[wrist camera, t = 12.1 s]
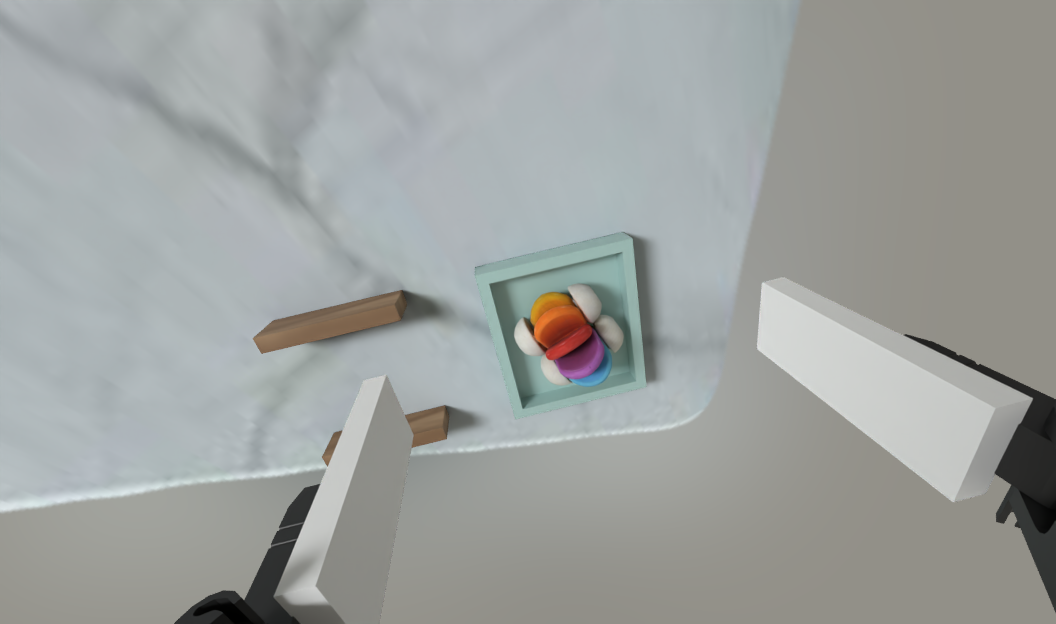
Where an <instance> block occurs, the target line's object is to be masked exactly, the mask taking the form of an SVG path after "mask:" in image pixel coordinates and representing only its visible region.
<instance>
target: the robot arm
mask: <svg viewBox="0 0 1056 624" xmlns="http://www.w3.org/2000/svg"><path fill="white" fill-rule="evenodd" d="M757 349H758V350H759V351H760V352H761V353H763V354H764V355H765V356H767V357H768V358H769V359H771V360H772V361H773V362H774V363H776V364H777V365H778V366H779V367H781V368H782V369H783V370H785V371H786V372H787V373H788V374H790V375H791V376H792V377H794V378H795V379H796V380H797V381H799V382H800V383H801V384H802V385H804V386H805V387H807V388H808V389H809V390H810V391H811V392H813V393H814V394H815V395H816V396H818V397H819V398H820V399H822V400H823V401H824V402H825V403H827V404H828V405H829V406H831V407H832V408H833V409H834V410H836V411H837V412H838V413H840V414H841V415H842V416H843V417H845V418H846V419H847V420H849V421H850V422H851V423H852V424H854V425H855V426H856V427H857V428H859V429H860V430H861V431H863V432H864V433H865V434H866V435H868V436H869V437H870V438H872V439H873V440H874V441H875V442H877V443H878V444H879V445H881V446H882V447H883V448H884V449H886V450H887V451H889V453H891V454H892V455H893V456H895V457H896V458H897V459H899V460H900V461H901V462H902V463H904V464H905V465H906V466H907V467H909V468H910V469H911V470H913V471H914V472H915V473H916V474H918V475H919V476H921V477H922V478H923V479H924V480H925V481H927V482H928V483H929V484H931V485H932V486H933V487H934V488H936V489H937V490H938V491H940V492H941V493H942V494H943V495H945V496H946V497H947V498H948V499H950V500H951V501H952V502H957V501H960V500H964V499H967V498H972V497H975V496H979V495H983V494H985V493H986V492H987V490H988V488H989V486H990V484H991V482H992V480H993V478H994V476H995V474H996V475H998V476H999V477H1001V478H1002V479H1004V480H1005V481H1007V482H1008V483H1010V484H1011V487H1010V489H1009V491H1008V493H1007V494H1006V496H1005V498H1004V500H1003V502H1002V504H1001V506H1000V507H999V509H998V511H997V513H996V522H999V523H1005V521H1006V519H1007V517H1008V515H1009V514H1010V513H1011V512H1014V514H1015V516H1016V518H1017V522H1016V524H1015V527H1018V528H1021V530H1022V533H1023V535H1024V537H1025V540H1026V542H1027V545H1028V547H1029V550H1030V552H1031V554H1032V557H1033V559H1034V562H1035V564H1036V566H1037V569H1038V571H1039V574H1040V576H1041V578H1042V581H1043V583H1044V585H1045V588H1046V590H1047V593H1048V595H1049V598H1050V600H1051V602H1052V605H1053V607H1054V610H1055V612H1056V399H1054V398H1052V397H1050V396H1047V395H1045V394H1043V393H1041V392H1039V391H1037V390H1034V389H1032V388H1030V387H1028V386H1026V385H1024V384H1022V383H1020V382H1018V381H1015V380H1013V379H1011V378H1009V377H1007V376H1005V375H1003V374H1000V373H998V372H996V371H994V370H992V369H990V368H988V367H985V366H983V365H981V364H979V365H977V364H976V362H975V361H973V360H971V359H968V358H966V357H964V356H962V355H959V356H958V355H957V354H956V352H953V351H951V350H949V349H947V348H945V347H943V346H941V345H939V344H936V343H934V342H932V341H928V340H924V339H921V338H917V337H914V336H910V335H907V334H905V335H902V334H899V333H897V332H895V331H893V330H891V329H889V328H887V327H885V326H883V325H881V324H879V323H877V322H875V321H873V320H871V319H869V318H867V317H865V316H862V315H860V314H858V313H856V312H854V311H852V310H850V309H848V308H846V307H844V306H842V305H840V304H838V303H836V302H833V301H831V300H830V299H827V298H825V297H823V296H821V295H819V294H817V293H815V292H813V291H811V290H809V289H807V288H805V287H803V286H801V285H799V284H797V283H794V282H792V281H790V280H788V279H786V278H784V277H782V278H778V279H774V280H770V281H765V282H762V291H761V303H760V316H759V328H758V340H757ZM413 436H414V435H413V432H412V430H411V428H410V426H409V424H408V421H407V419H406V417H405V415H404V413H403V410H402V408H401V406H400V404H399V401H398V399H397V397H396V395H395V393H394V390H393V388H392V386H391V384H390V382H389V379H388V377H387V375H383V376H379V377H375V378H371V379H367V380H364V381H363V383H362V386H361V388H360V390H359V393H358V395H357V398H356V400H355V402H354V405H353V407H352V410H351V412H350V414H349V417H348V419H347V422H346V424H345V426H344V429H343V431H342V434H341V436H340V438H339V441H338V443H337V446H336V448H335V450H334V453H333V455H332V458H331V460H330V462H329V465H328V467H327V470H326V472H325V475H324V477H323V479H322V482H321V484H318V485H314V486H310V487H306V488H304V489H303V491H302V492H301V493H300V494H299V495H298V496H297V498H296V499H295V500H294V501H293V502H292V504H291V505H290V506H289V508H288V509H287V512H286V514H285V516H284V518H283V520H282V522H281V524H280V526H279V528H280V530H279V531H277V533H276V535H275V537H274V539H273V541H272V543H271V548H270V549H269V550H268V552H267V554H266V556H265V558H264V560H263V562H262V564H261V566H260V568H259V570H258V573H257V575H256V577H255V579H254V581H253V583H252V585H251V588H250V589H249V592H248V594H247V596H246V598H245V600H243V599H242V598H241V597H240V596H239V595H238V594H237V593H236V592H235V591H221V592H218V593H215V594H213V595H210V596H208V597H206V598H205V599H203V600H202V601H200V602H199V603H197V604H195V605H194V606H192V607H191V608H190V609H189V610H188V611H187V612H186V613H185V614H184V615H183V616H181V617H180V618H179V619H178V620H177V621H176V622H175V623H174V624H379V623H380V618H381V612H382V607H383V601H384V596H385V590H386V584H387V579H388V574H389V568H390V563H391V557H392V552H393V546H394V540H395V535H396V530H397V524H398V519H399V513H400V508H401V502H402V497H403V491H404V486H405V479H406V475H407V469H408V463H409V458H410V453H411V447H412V442H413Z"/></svg>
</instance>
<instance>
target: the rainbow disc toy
mask: <svg viewBox="0 0 1056 624" xmlns="http://www.w3.org/2000/svg"><path fill="white" fill-rule="evenodd" d="M568 290H569V292H570V294H571V295H572V297H573V299H571V298H570V297H569V296H568V295H566V294H563V293H559V292H548V293H545V294H542V295H541V296H540V297H538V299H537V300H536V301H535V302H534V304H533V306H532V309H531V315H530V316H531V318H530V321H531V322H530V321H529V320H528V319H527V318H525V317H523V318H521V319H520V320H519V322H518V323H517V325H516V327H515V331H514V337H515V340H516V343H517V344H518V346H519V348H520V349H521V350H522V351H523V352H524V353H525V354H527V355H530V356H542V355H543V356H542V358H541V369H542V372H543V374H544V375H545V377H546V378H547V379H548V380H549V381H550V382H551V383H553V384H555V385H561V386H563V385H568V384H571V383H572V382H573V383H575V384H577V385H580V386H584V387H592V386H596V385H599V384H601V383H603V382H604V381H605V380H606V379H607V377H608V376H609V374H610V371H611V368H612V355H611V352H610V351H609V349H611V350H612V351H613V352H614V353H615V352H617V351H618V350H619V349H620V347H621V345H622V343H623V338H624V335H623V332H622V330H621V329H620V327H619V326H618V325H617V323H616V322H615V320H614V319H613V318H612V317H611V316H608V315H600V313H601V308H602V304H601V301H600V300H599V298H598V297H597V295H596V294H595V293H594V291H593V290H592V288H591V287H590V286H589V285H586V284H582V283H578V284H573V285H570V286H568ZM587 323H591V324H593V326H592V325H589V324H587Z"/></svg>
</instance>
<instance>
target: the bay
mask: <svg viewBox="0 0 1056 624" xmlns="http://www.w3.org/2000/svg"><path fill="white" fill-rule="evenodd" d="M406 307H407V302H406V299H405V297H404V294H403V291H402V290H400V291H395V292H391V293H387V294H383V295H379V296H374V297H370V298H366V299H362V300H358V301H353V302H349V303H345V304H341V305H337V306H332V307H328V308H324V309H320V310H316V311H311V312H307V313H303V314H299V315H295V316H290V317H286V318H282V319H278V320H274V321H272V322H271V323H270V324H269V325H267V326H266V327H265V328H264V329H263V330H262V331H261V332H259V333H258V334H257V335H256V336H255V337H254V338H253V340H254V342H255V343H256V345H257V347H258V349H259V350H260V352H261V354H263V353H267V352H271V351H275V350H279V349H283V348H288V347H292V346H296V345H300V344H304V343H308V342H313V341H317V340H321V339H325V338H329V337H334V336H338V335H342V334H346V333H350V332H354V331H359V330H363V329H367V328H371V327H375V326H379V325H384V324H388V323H392V322H396V321H400V320H401V319H402V316H403V314H404V311H405V309H406ZM405 417H406V419H407V421H408V424H409V426H410V428H411V430H412V432H413V435H414V436H413V442H412V447H416V446H421V445H425V444H429V443H433V442H437V441H441V440H445V439H447V433H448V423H449V414H448V412H447V409H446V406H441V407H436V408H432V409H428V410H424V411H420V412H416V413H412V414H408V415H405ZM341 434H342V431H339V432H335V433H334V434H333V436H332V438H331V440H330V442H329V444H328V446H327V448H326V450H325V452H324V454H323V456H322V458H323V460H324V461H325V463H326V465H327V467H328V465H329V462H330V460H331V458H332V455H333V453H334V450H335V448H336V446H337V443H338V441H339V438H340V436H341ZM412 447H411V448H412Z"/></svg>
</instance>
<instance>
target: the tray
mask: <svg viewBox="0 0 1056 624" xmlns="http://www.w3.org/2000/svg"><path fill="white" fill-rule="evenodd" d="M475 278H476V282H477V285H478V289H479V292H480V296H481V300H482V303H483V307H484V310H485V314H486V317H487V321H488V324H489V328H490V331H491V335H492V338H493V342H494V346H495V349H496V353H497V356H498V360H499V363H500V367H501V370H502V374H503V377H504V381H505V384H506V388H507V392H508V395H509V399H510V402H511V406H512V409H513V413H514V416H515V419H519V418H523V417H527V416H531V415H535V414H539V413H543V412H547V411H551V410H555V409H559V408H563V407H567V406H571V405H575V404H580V403H584V402H588V401H592V400H596V399H600V398H604V397H608V396H612V395H616V394H620V393H624V392H628V391H632V390H636V389H640V388H644V387H646V376H645V365H644V355H643V344H642V333H641V323H640V312H639V302H638V291H637V280H636V270H635V259H634V249H633V238H631V237H630V236H628V235H627V234H625V233H623V232H621V233H617V234H612V235H608V236H604V237H600V238H596V239H591V240H587V241H583V242H579V243H574V244H570V245H566V246H562V247H558V248H553V249H549V250H545V251H541V252H537V253H532V254H528V255H524V256H520V257H516V258H511V259H507V260H503V261H499V262H495V263H490V264H486V265H482V266H478V267H475ZM578 283H582V284H586V285H589V286H590V287H591V288H592V290H593V291H594V293H595V294H596V295H597V297H598V298H599V300H600V301H601V304H602V308H601V313H600V315H608V316H611V317H612V318H613V319H614V320H615V322H616V323H617V325H618V326H619V327H620V329H621V330H622V332H623V335H624V338H623V343H622V345H621V347H620V349H619V350H618V351H617V352H615V353H614V352H613V351H612V350H611V349H609V351H610V352H611V355H612V368H611V371H610V374H609V376H608V377H607V379H606V380H605V381H604V382H603V383H601V384H599V385H596V386H592V387H584V386H580V385H577V384H575V383H573V382H572V383H571V384H568V385H563V386H561V385H555V384H553V383H551V382H550V381H549V380H548V379H547V378H546V377H545V375H544V374H543V372H542V369H541V358H542V356H543V355H542V356H530V355H527V354H525V353H524V352H523V351H522V350H521V349H520V348H519V346H518V344H517V343H516V340H515V337H514V331H515V327H516V325H517V323H518V322H519V320H520V319H521V318H523V317H525V318H527V319H528V320H529V321H530V318H531V316H530V315H531V309H532V306H533V304H534V302H535V301H536V300H537V299H538V297H540V296H541V295H542V294H545V293H548V292H559V293H563V294H566V295H568V296H569V297H570V298H571V299H573V297H572V295H571V294H570V292H569V290H568V286H570V285H573V284H578ZM530 322H531V321H530ZM587 324H589V325H592V326H593V324H591V323H587Z"/></svg>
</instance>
